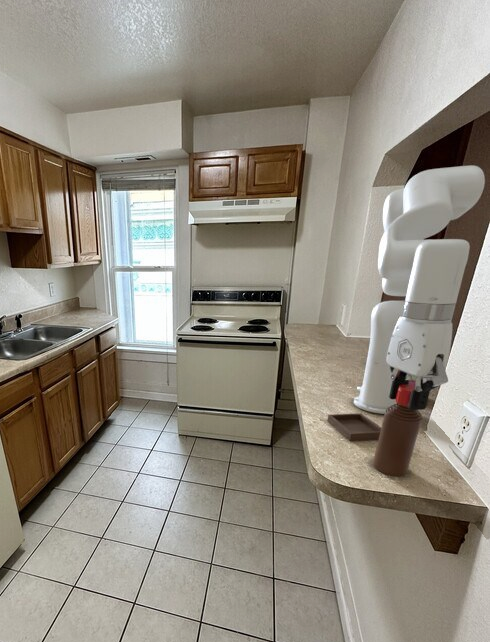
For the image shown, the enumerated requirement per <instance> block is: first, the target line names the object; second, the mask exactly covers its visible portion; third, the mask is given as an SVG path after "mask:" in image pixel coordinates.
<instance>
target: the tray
mask: <svg viewBox="0 0 490 642" xmlns="http://www.w3.org/2000/svg"><path fill="white" fill-rule="evenodd" d="M326 421H327V422H328V424H330V425H331V426H332V427H333V428H335V430H337V432H338V433H340V434H341V435H342V436H343V437H345V438H346V439H347V440H348V441H349V442H353V441H374V440H379V435H380V431H381V427H382V426H380V425H378V424H377V423H375V422H374V421H373V420H371V419H370V418H368V417H367V416H366V415H364V414H363V413H361V412H355V413H335V414H328V415H327V419H326Z"/></svg>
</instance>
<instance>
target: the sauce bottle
mask: <svg viewBox="0 0 490 642" xmlns="http://www.w3.org/2000/svg"><path fill="white" fill-rule="evenodd" d="M422 421H423V415H422V413H421V412H420V410H410V409H408V407H407V406H403V405H400V404H398V403H396V404H394V405H392V406H391V407H388V408H387V409H386V411H385V414H383V419H382V423H381V426H380V427H381V431H380V435H379V439H377V444H376V448H375V451H374V452H375V453H374V457H373V460H372V465H373V467H374V468H375V469H376V470H377V471H379V472H380V473H383V474H385V475H389V476H392V477H403V476H405V475H406V474H407V473H408V470H409V466H410V464H411V460H412V456H413V452H414V449H415V445H416V442H417V439H418V435H419V432H420V428H421V424H422Z"/></svg>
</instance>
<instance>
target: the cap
mask: <svg viewBox="0 0 490 642" xmlns="http://www.w3.org/2000/svg"><path fill="white" fill-rule="evenodd" d="M412 390H415V386H414V385H407V384H403V385H400V386H399V388H398V391H397V395H396V399H395V401H396V403H398V404H400V405H403V406H407V407H408V405H409V401H410V396H411V392H412Z"/></svg>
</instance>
